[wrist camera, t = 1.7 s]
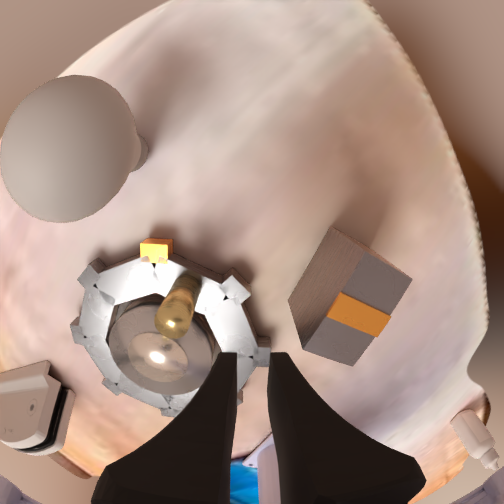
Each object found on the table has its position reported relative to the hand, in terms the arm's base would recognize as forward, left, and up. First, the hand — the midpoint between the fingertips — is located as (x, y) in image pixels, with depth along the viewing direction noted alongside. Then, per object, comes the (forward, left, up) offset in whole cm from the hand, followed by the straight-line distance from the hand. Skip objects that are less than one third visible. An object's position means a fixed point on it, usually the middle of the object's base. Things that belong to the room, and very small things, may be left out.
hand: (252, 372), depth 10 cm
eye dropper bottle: (-38, +7, -10) cm, 40 cm away
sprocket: (+4, +7, -9) cm, 12 cm away
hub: (+4, +7, -9) cm, 12 cm away
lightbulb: (+11, -5, -10) cm, 15 cm away
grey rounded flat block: (+17, +26, -10) cm, 33 cm away
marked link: (-5, -3, -10) cm, 11 cm away
